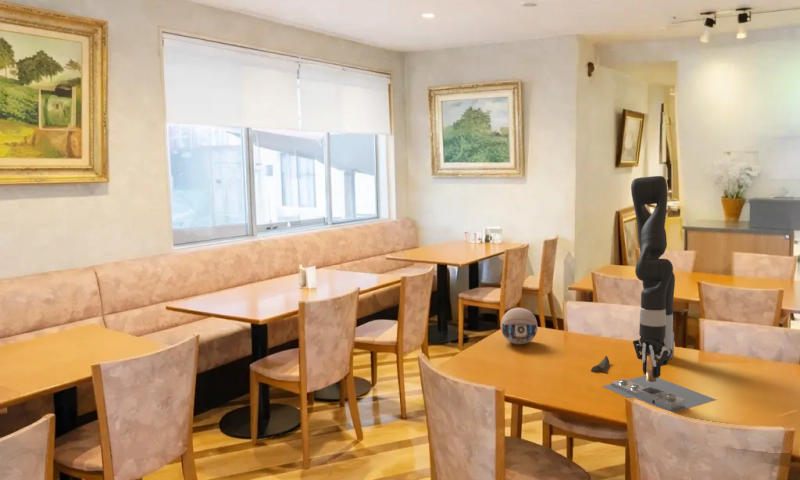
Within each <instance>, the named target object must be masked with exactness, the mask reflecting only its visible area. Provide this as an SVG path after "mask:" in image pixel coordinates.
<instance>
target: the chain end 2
mask: <svg viewBox="0 0 800 480" xmlns="http://www.w3.org/2000/svg"><path fill="white" fill-rule="evenodd" d="M648 391H653V392H655V394H650V393H647V392H648ZM636 393H638V394H640V395H643V396H645V397H647V398H650V399H652V400H654V401H655V405H657V406H660V407H662V408H664V409H667V410H669V411H674V410H677V409H680V408H684V407H685V399H682V398H680V397H677V396H676V395H673V394H670V393H667V392H665V391H662V390H660V389H657V388H655V387H652V386H647V387H643V388H639V389H636Z"/></svg>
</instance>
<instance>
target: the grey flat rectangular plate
mask: <svg viewBox="0 0 800 480" xmlns="http://www.w3.org/2000/svg"><path fill="white" fill-rule="evenodd" d="M627 380H628V381H631V382H633V383H636V384H638V385H641V386H643V387H647V386H652V387H655V388H657V389H660V390H662V391H665V392H667V393H670V394H673V395H676V396H677V397H680V398H682V399H685V407H684V408H680V409H677V410H674V411H671V412H673V413H672V414H674V413H677V412H680V411H684V410H688V409H691V408H694V407H697V406H701V405H704V404H708V403H711V402H714V401H717V399H716V398H713V397H712V396H711V397H710V396H709V395H707V394H706V395H705V394H703V393H700V392H697V391H695V390H692V389H690V388H686V387H684V386H682V385H679V384H678V383H677V384H676V383H674V382H671V381H668V380H666V379H663V378H660V377H658V378H656V382H649V381H647V380H646V375H645V374H644V375H641V376H638V377H633V378H630V379H627ZM601 387H602V388H604V389H607V390H609V391H611V392H613V393H616V394H618V395H620V396H622V397H625V398H626V399H627V398H628V399H629V398H636V399H638V400H641V401H644V402H646V403H648V404H650V405H653V406H656V407H659V408H662V407H660V406H657V405H655V403H650V402H648V401H646V400H643V399H641V398H639V397H636V396H634V395H632V394H629V393H627V392H625V391H622V390H620V389H618V388H615V387H613V386H611V383H610V384H607V385H606V384H605V385H602V386H601ZM662 409H664V408H662ZM665 410H667V409H665ZM668 411H669V410H668Z"/></svg>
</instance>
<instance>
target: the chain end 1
mask: <svg viewBox="0 0 800 480" xmlns="http://www.w3.org/2000/svg"><path fill="white" fill-rule="evenodd" d="M628 380H629V379H626V378H622V379H618V380H614V381H611V382H610V384H611V386H613V387H615V388H618V389H620V390H622V391H625V392H627V393H629V394H632V395H634V396H636V397H639V398H641V399H643V400H646V401H648V402H650V403H655V401H654V400H652V399H650V398H647V397H645V396H643V395H640V394H638V393H636V389H639V388H643V386H641V385H638V384H636V383H633V382H631V381H628ZM647 393H650V394H655V392H653V391H648V392H647Z"/></svg>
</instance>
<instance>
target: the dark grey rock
mask: <svg viewBox="0 0 800 480" xmlns="http://www.w3.org/2000/svg"><path fill="white" fill-rule="evenodd" d="M609 369H610V360H609V357H608V356H607V355H605V356H604V358H603V359H602V360H601V361H599V363H598V364H597V365H594V366H592V368H591V370H590V372H593V373H595V372H601V373H603V374H606V373H608V370H609Z"/></svg>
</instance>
